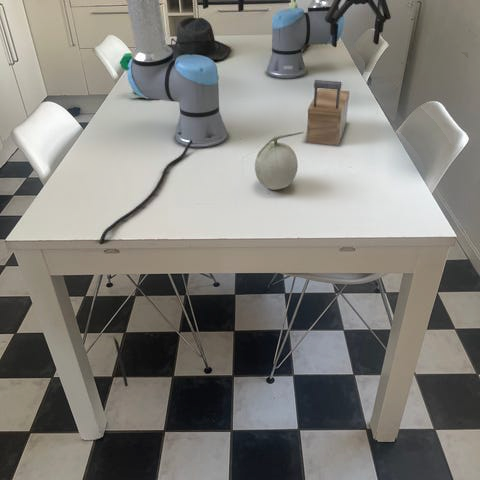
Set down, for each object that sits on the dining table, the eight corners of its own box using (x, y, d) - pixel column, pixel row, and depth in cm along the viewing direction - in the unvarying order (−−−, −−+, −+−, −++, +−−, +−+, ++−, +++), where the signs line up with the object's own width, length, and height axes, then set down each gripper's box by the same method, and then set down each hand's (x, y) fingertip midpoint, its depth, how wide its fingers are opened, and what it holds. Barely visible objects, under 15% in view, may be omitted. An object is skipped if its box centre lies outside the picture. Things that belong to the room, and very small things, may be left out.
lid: (340, 115, 144) (343, 85, 139) (307, 112, 146) (309, 82, 141) (349, 94, 157) (352, 66, 152) (318, 92, 159) (320, 64, 154)
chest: (338, 145, 149) (341, 115, 144) (306, 142, 152) (307, 112, 146) (346, 123, 162) (349, 94, 157) (316, 120, 165) (318, 92, 159)
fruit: (243, 186, 130) (242, 131, 122) (278, 172, 136) (279, 118, 127) (270, 202, 124) (271, 145, 115) (305, 187, 129) (308, 131, 121)
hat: (234, 43, 244) (233, 10, 236) (225, 65, 215) (224, 29, 207) (169, 42, 247) (165, 10, 239) (151, 64, 218) (147, 29, 210)
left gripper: (260, -62, 164) (260, 9, 176) (192, -64, 173) (196, 4, 185) (251, -60, 158) (251, 14, 170) (181, -62, 167) (186, 8, 179)
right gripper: (324, -27, 146) (319, 50, 158) (408, -31, 148) (397, 45, 161) (317, -31, 152) (313, 43, 164) (398, -35, 154) (388, 39, 167)
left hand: (223, 9), depth 178 cm, fingers open, 13 cm apart
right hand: (354, 44), depth 162 cm, fingers open, 13 cm apart
